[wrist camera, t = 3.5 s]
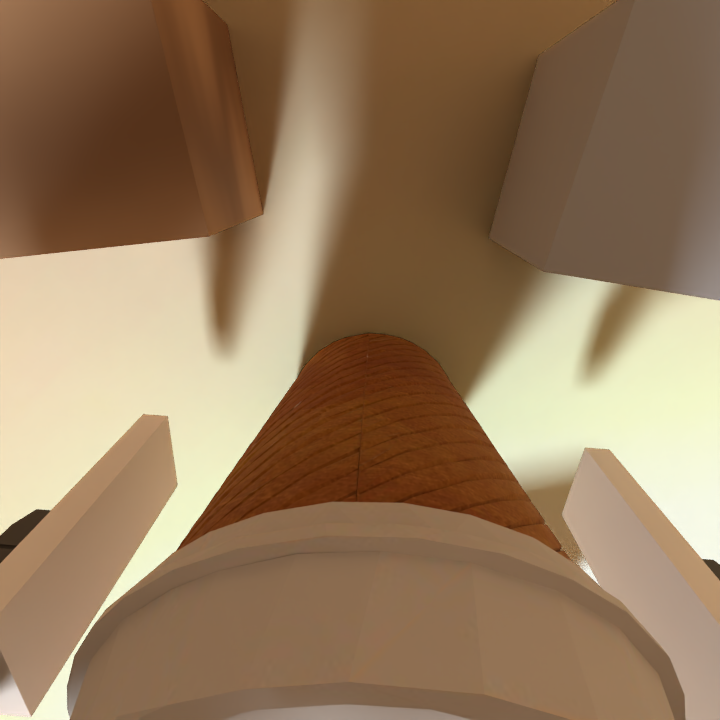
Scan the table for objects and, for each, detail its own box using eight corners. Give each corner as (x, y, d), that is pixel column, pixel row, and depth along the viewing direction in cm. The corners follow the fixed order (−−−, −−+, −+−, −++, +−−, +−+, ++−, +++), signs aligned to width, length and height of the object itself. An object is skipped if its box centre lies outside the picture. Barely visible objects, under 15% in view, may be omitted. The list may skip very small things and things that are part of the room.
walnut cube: (59, 50, 12) (-133, -22, 7) (228, 26, 12) (134, -66, 7) (118, 229, 14) (-4, 259, 10) (263, 213, 14) (208, 236, 9)
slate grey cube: (537, 56, 12) (640, -16, 7) (709, 87, 12) (914, 36, 7) (487, 237, 14) (543, 271, 9) (634, 262, 14) (759, 307, 9)
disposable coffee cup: (430, 238, 14) (641, 503, 3) (530, 449, 17) (805, 943, 6) (202, 363, 16) (-172, 783, 5) (330, 528, 19) (272, 999, 8)
